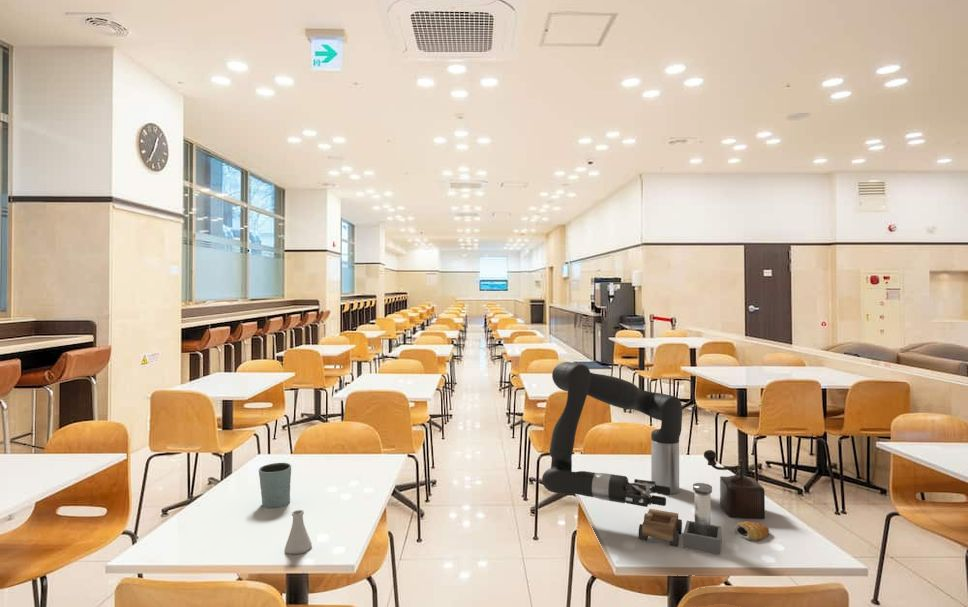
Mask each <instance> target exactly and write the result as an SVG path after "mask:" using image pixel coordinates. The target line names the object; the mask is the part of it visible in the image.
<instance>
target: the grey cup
mask: <svg viewBox="0 0 968 607" xmlns="http://www.w3.org/2000/svg"><path fill="white" fill-rule="evenodd" d="M258 477H259V484H260V485H259V486H260V491H261V492H260V494H261V495H260V496H261V504H262V505H261V506H262V508H265V507H266V508H265V509H277V507H279V508H283V507H285V506H288V504H290V501H291V478H292V464H290V463H287V462H277V463H276V462H275V463H274V462H273V463H269V464H266V465H263V466H261V467H259V469H258Z"/></svg>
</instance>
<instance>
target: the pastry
mask: <svg viewBox="0 0 968 607" xmlns="http://www.w3.org/2000/svg"><path fill="white" fill-rule="evenodd" d="M733 532H734V534H735V535H736V536H738V537H740V538H743V539H745V540H747V541H753V542H754V541H756V542H757V541H758V540H759V541H761V540H763V539H765V538H767V537H768V536H769V532H770V531H769V528H768V527H767V526H765V524H763V523H760V522H755V521H748V520H747V521H746V520H745V521H742V522H741V521H739V522H738V523H737V524H736V525H735V527H734V528H733Z"/></svg>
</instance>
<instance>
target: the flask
mask: <svg viewBox="0 0 968 607" xmlns="http://www.w3.org/2000/svg"><path fill="white" fill-rule="evenodd" d="M304 513H305V511H304V509H296V510H293V511H291V516H292V524H291V528H290V530H289V535H288V538H287V540H286V544H285V547H284V553H285V554H289V555H290V554H291V555H296V554H304V553H306V552H308V551H309V550H310V549H312V548H313V547H312V546H313V545H312V541H311V538H310V536H309V533H308V532H307V529H306V526H305V522H304Z"/></svg>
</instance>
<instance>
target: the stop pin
mask: <svg viewBox="0 0 968 607" xmlns="http://www.w3.org/2000/svg"><path fill="white" fill-rule="evenodd" d="M692 490H693V492H694V522H695V534H697V535H702V536H708V537H711V525H712V524H711V493H713V486H712V485H710V484H709V483H704V482H695V483H693V484H692Z"/></svg>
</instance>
